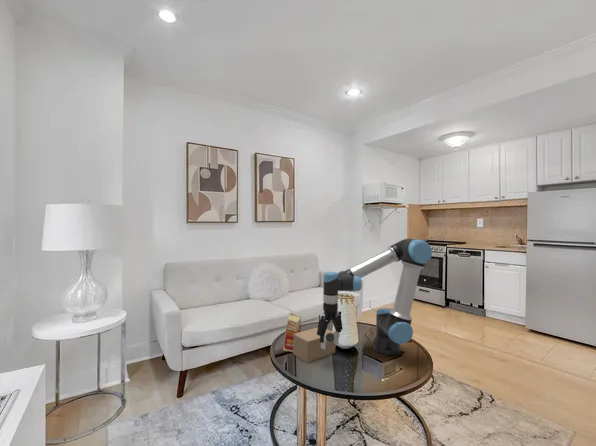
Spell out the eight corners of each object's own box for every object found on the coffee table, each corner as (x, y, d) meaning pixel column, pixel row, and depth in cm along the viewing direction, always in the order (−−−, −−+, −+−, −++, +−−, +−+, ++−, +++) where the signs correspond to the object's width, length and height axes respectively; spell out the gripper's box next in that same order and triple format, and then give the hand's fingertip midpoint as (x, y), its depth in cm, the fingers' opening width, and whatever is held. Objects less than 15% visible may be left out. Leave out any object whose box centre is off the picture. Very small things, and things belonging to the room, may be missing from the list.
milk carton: (283, 350, 163) (283, 314, 163) (288, 343, 171) (289, 309, 171) (298, 352, 160) (299, 316, 160) (303, 346, 168) (304, 311, 168)
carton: (335, 352, 160) (335, 334, 161) (307, 362, 148) (307, 343, 148) (320, 345, 170) (320, 328, 170) (293, 354, 158) (293, 335, 158)
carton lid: (346, 339, 154) (346, 330, 154) (318, 348, 142) (318, 338, 142) (320, 327, 170) (321, 319, 170) (293, 335, 158) (293, 326, 158)
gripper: (339, 297, 159) (339, 339, 159) (309, 303, 146) (309, 348, 146) (350, 300, 153) (349, 343, 153) (319, 307, 140) (318, 354, 140)
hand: (329, 346), depth 150 cm, fingers open, 9 cm apart
